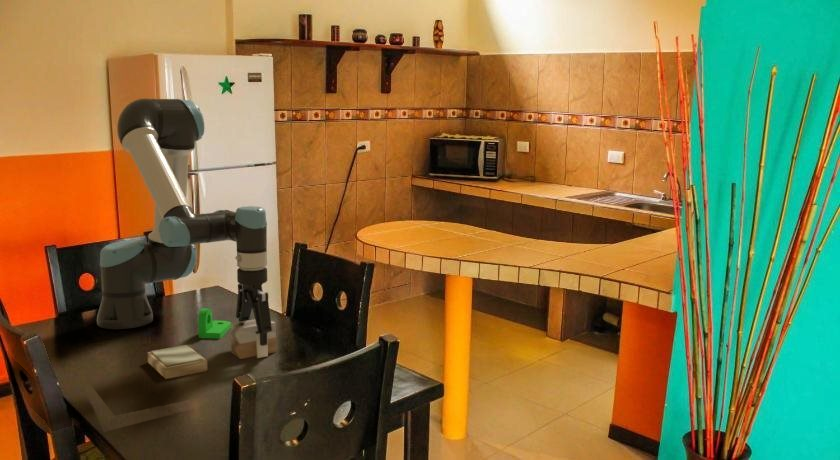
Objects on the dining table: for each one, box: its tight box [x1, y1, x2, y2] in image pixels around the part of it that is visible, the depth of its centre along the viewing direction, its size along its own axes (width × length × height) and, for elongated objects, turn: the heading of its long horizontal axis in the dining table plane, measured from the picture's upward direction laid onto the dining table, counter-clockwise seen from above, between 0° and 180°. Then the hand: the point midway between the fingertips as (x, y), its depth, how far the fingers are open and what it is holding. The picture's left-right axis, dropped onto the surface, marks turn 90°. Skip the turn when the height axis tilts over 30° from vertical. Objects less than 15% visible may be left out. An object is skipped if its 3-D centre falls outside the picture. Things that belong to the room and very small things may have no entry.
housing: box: [230, 318, 278, 360], centre depth 192 cm, size 6×10×8 cm, turn 126°
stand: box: [147, 344, 208, 380], centre depth 181 cm, size 14×10×3 cm
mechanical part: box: [197, 308, 232, 340], centre depth 209 cm, size 12×6×8 cm, turn 177°
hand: (254, 351), depth 193 cm, fingers open, 10 cm apart
